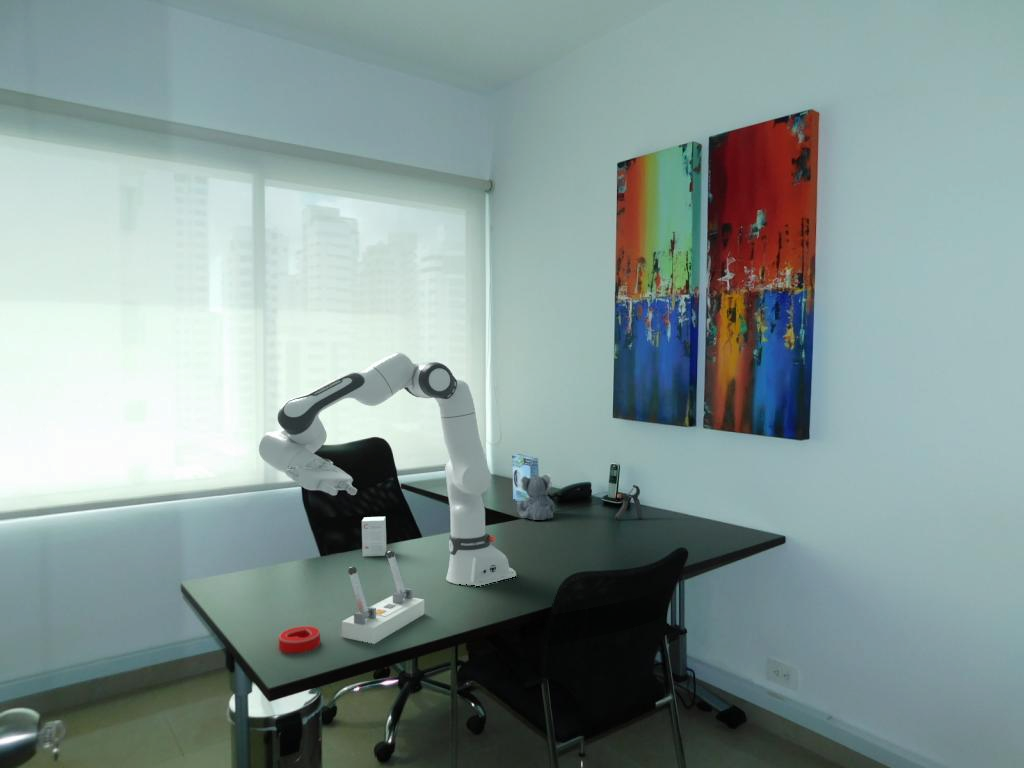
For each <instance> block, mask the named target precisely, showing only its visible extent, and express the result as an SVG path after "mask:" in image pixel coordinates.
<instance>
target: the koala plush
mask: <svg viewBox="0 0 1024 768" xmlns="http://www.w3.org/2000/svg"><path fill="white" fill-rule="evenodd" d="M519 481H520V487H521V488H522V489H523V491H526V492H527V495H528V496H529V497H527V498H526V499H525V501H523V500H519V501H516V508H517V509H516V511H517V513H518V515H519V517H521V519H525V518H531V519H530V520H532V519H533V520H532V521H534V520H543V521H545V520H547V519H548V520H551V519H553V518H554V513H555V507H556V505H555V502H554V501H553V500H552V499H551V497H550V496H548V495H547V494H546V492H547V491H549V490H550V489H551V488H552V485H553V477H552V476H551V474H549V473H547V474H544V475H542V476H532V477H530V478H527V477H525V476H524V477H523V476H522V477H520V478H519ZM550 518H551V519H550Z"/></svg>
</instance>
